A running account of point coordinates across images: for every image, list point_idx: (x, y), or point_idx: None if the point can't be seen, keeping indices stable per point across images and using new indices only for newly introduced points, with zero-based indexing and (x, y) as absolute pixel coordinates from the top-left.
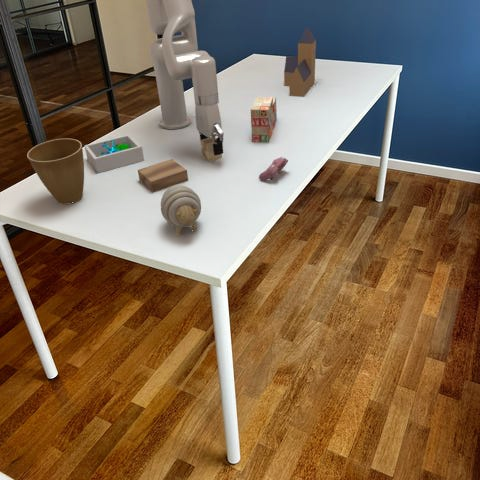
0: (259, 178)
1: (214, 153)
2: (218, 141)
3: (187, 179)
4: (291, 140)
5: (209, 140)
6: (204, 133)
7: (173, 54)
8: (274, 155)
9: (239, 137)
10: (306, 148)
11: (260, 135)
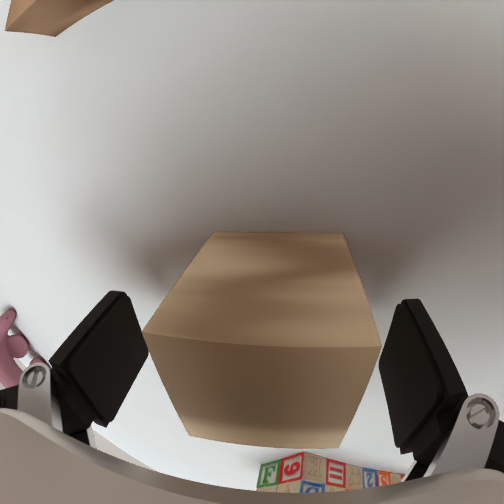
0: (9, 311)
1: (102, 299)
2: (4, 390)
3: (50, 32)
4: (236, 478)
5: (271, 406)
6: (61, 484)
7: None
8: (155, 431)
9: (379, 440)
10: (172, 465)
11: (277, 482)
